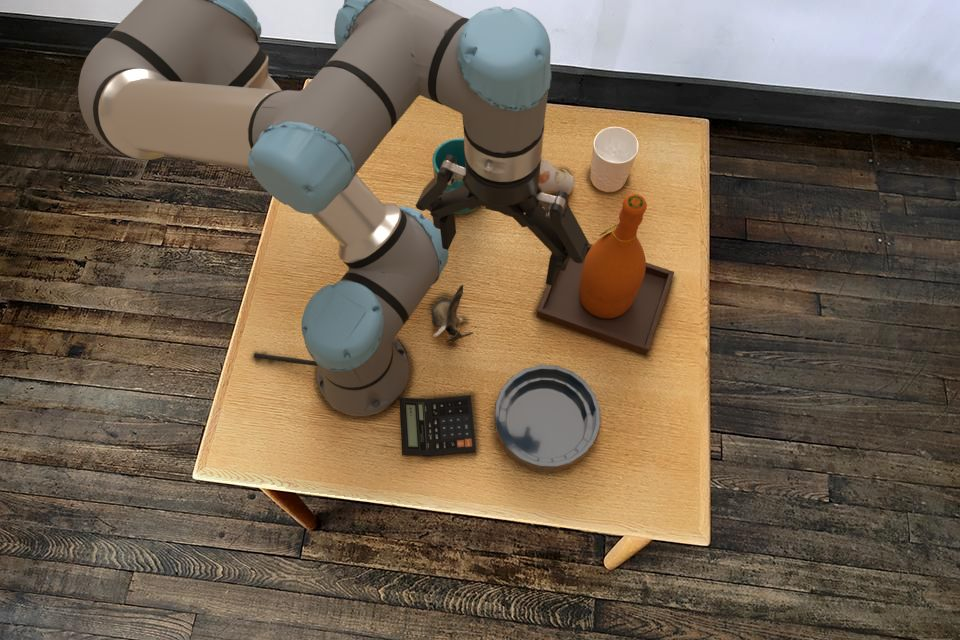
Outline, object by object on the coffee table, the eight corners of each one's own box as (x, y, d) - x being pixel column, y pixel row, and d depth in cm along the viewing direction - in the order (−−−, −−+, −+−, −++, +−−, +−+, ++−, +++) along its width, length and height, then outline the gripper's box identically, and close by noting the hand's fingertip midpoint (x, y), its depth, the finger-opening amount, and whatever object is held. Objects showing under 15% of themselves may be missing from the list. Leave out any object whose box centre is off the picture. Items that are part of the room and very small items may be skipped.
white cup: (602, 202, 139) (610, 170, 130) (578, 171, 142) (585, 138, 132) (637, 183, 140) (647, 151, 131) (613, 153, 143) (622, 119, 134)
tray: (536, 317, 130) (537, 310, 127) (565, 243, 135) (567, 235, 133) (645, 355, 127) (648, 349, 124) (671, 278, 132) (674, 271, 130)
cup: (428, 225, 137) (423, 191, 127) (441, 171, 142) (438, 134, 132) (477, 233, 136) (476, 199, 126) (488, 178, 141) (488, 141, 131)
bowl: (479, 451, 120) (479, 443, 116) (515, 361, 126) (516, 350, 122) (577, 489, 118) (580, 482, 113) (609, 395, 124) (613, 386, 119)
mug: (575, 208, 139) (552, 186, 130) (529, 206, 144) (504, 185, 136) (584, 170, 140) (561, 146, 131) (538, 169, 145) (514, 146, 137)
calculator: (475, 452, 120) (475, 447, 118) (403, 459, 120) (401, 454, 117) (471, 396, 124) (470, 390, 121) (400, 402, 124) (398, 397, 121)
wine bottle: (634, 273, 132) (671, 174, 105) (633, 324, 128) (672, 235, 101) (578, 268, 133) (601, 168, 105) (575, 319, 129) (598, 229, 101)
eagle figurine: (485, 334, 127) (472, 285, 129) (463, 332, 121) (450, 280, 123) (449, 348, 131) (437, 299, 133) (426, 347, 124) (413, 296, 126)
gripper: (370, 145, 74) (395, 250, 93) (613, 224, 70) (587, 317, 89) (401, 89, 77) (419, 202, 96) (637, 162, 73) (606, 265, 92)
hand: (500, 258), depth 93 cm, fingers open, 13 cm apart
